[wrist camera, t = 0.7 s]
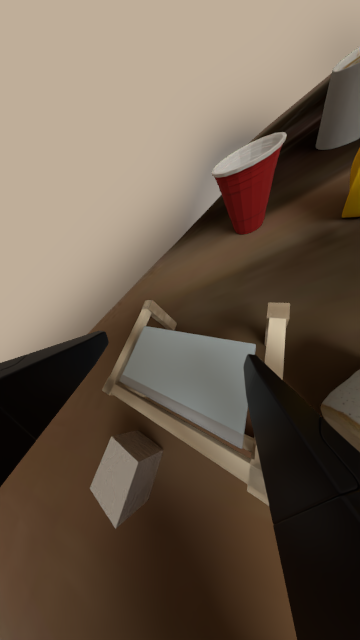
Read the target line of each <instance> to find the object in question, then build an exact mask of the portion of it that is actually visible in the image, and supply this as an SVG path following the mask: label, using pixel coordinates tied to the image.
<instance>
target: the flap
mask: <svg viewBox="0 0 360 640" xmlns="http://www.w3.org/2000/svg"><path fill="white" fill-rule="evenodd" d="M255 350H256V344H251V343H244V342H238V341H232V340H226V339H220V338H214V337H208V336H202V335H196V334H190V333H184V332H178V331H172V330H166V329H160V328H154V327H147V326H144V328H143V330H142V332H141V334H140V337H139V339H138V341H137V343H136V345H135V348H134V350H133V352H132V354H131V356H130V359H129V361H128V363H127V365H126V367H125V370H124V372H123V374H122V375H121V377H120V382H122V383H123V384H125V385H127V386H129V387H131V388H132V389H134V390H136V391H138V392H140V393H141V394H143V395H145V396H147V397H149V398H150V399H152V400H154V401H156V402H158V403H159V404H161V405H163V406H165V407H167V408H168V409H170V410H172V411H174V412H176V413H177V414H179V415H181V416H183V417H185V418H186V419H188V420H190V421H192V422H194V423H195V424H197V425H199V426H201V427H203V428H204V429H206V430H208V431H210V432H212V433H213V434H215V435H217V436H219V437H221V438H222V439H224V440H226V441H228V442H230V443H231V444H233V445H235V446H237V447H239V448H240V449H242V446H243V440H244V432H245V425H246V417H247V410H248V403H247V398H246V390H245V380H244V369H243V367H244V362H245V359H246V356H247V354H254V355H255Z"/></svg>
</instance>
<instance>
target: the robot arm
mask: <svg viewBox="0 0 360 640" xmlns="http://www.w3.org/2000/svg"><path fill="white" fill-rule="evenodd" d="M107 345H108V338H107V335H106V332H104V331H97V332H94V333H91V334H87V335H84V336H82V337H79V338H76V339H72V340H69V341H66V342H63V343H60V344H57V345H54V346H51V347H48V348H45V349H42V350H39V351H36V352H33V353H30V354H28V355H24V356H21V357H18V358H15V359H12V360H8V361H5V362H2V363H0V487H1V485H2V484H3V483H4V482H5V480H6V479H7V478H8V476H9V475H10V474H11V473H12V471H13V470H14V469H15V467H16V466H17V465H18V463H19V462H20V461H21V460H22V458H23V457H24V456H25V454H26V453H27V452H28V451H29V449H30V448H31V447H32V445H33V444H34V443H35V442H36V440H37V439H38V437H39V436H40V435H41V434H42V432H43V431H44V430H45V428H46V427H47V426H48V425H49V423H50V422H51V421H52V419H53V418H54V417H55V416H56V414H57V413H58V412H59V410H60V409H61V408H62V407H63V405H64V404H65V403H66V401H67V400H68V399H69V398H70V396H71V395H72V394H73V392H74V391H75V390H76V389H77V387H78V386H79V385H80V383H81V382H82V381H83V380H84V378H85V377H86V376H87V374H88V373H89V372H90V370H91V369H92V368H93V367H94V365H95V364H96V362H97V361H98V359H99V358H100V356H101V355H102V353H103V352H104V350H105V348H106V347H107ZM243 369H244V380H245V390H246V398H247V403H248V407H249V412H250V417H251V422H252V426H253V431H254V436H255V441H256V445H257V450H258V455H259V460H260V464H261V469H262V474H263V479H264V483H265V488H266V493H267V498H268V502H269V507H270V512H271V516H272V521H273V524H274V525H273V527H274V531H275V536H276V541H277V546H278V550H279V555H280V560H281V565H282V569H283V574H284V579H285V584H286V588H287V593H288V598H289V603H290V607H291V612H292V617H293V622H294V626H295V631H296V636H297V640H360V452H359V451H358V450H357V449H356V448H355V447H354V446H352V445H351V444H350V443H349V442H348V441H347V440H346V439H345V438H344V437H343V436H342V435H340V434H339V433H338V432H337V431H336V430H335V429H334V428H333V427H332V426H331V425H330V424H329V423H328V422H326V421H325V420H324V419H323V418H322V417H320V415H319V414H318V413H317V412H316V411H315V410H314V409H313V408H312V407H311V406H309V405H308V404H307V403H306V402H305V401H304V400H303V399H302V398H301V397H300V396H299V395H298V394H297V393H296V392H295V391H294V390H293V389H291V388H290V387H289V386H288V385H287V384H286V383H285V382H284V381H283V380H282V379H281V378H280V377H279V376H278V375H277V374H276V373H275V372H274V371H272V370H271V369H270V368H269V367H268V366H267V365H266V364H265V363H264V362H263V361H262V360H261V359H260V358H259V357H258V356H257V355H254V354H247V356H246V359H245V362H244V367H243Z"/></svg>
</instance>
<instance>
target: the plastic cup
mask: <svg viewBox="0 0 360 640" xmlns="http://www.w3.org/2000/svg"><path fill="white" fill-rule="evenodd" d="M286 136H287V135H286V134H285V132H282V133H275V134H272V135H268V136H265V137H263V138H261V139H258V140H256V141H254V142H251V143H250V144H248V145H246V146H244V147H242V148H240V149H238V150H237V151H235V152H233V153H232V154H230V155H229V156H227V157H226V158H225V159H223V160H222V161H221V162H219V163H218V164H217V165H216V166H215V167H214V169H213V170H212V175H213V176H214V177H215V179H216V180H217V183H218V185H219V188H220V191H221V193H222V196H223V199H224V202H225V205H226V208H227V211H228V214H229V217H230V219H231V221H232V224H233V227H234V230H235V231H236V233H238V234H247V233H251V232H253V231H255V230H257V229H258V228H259V227H260V226H261V225H262V223H263V220H264V217H265V211H266V206H267V204H268V199H269V194H270V189H271V185H272V180H273V175H274V170H275V167H276V163H277V159H278V157H279V153H280V149H281V147H282V145H283V142H284V141H285V139H286Z"/></svg>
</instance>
